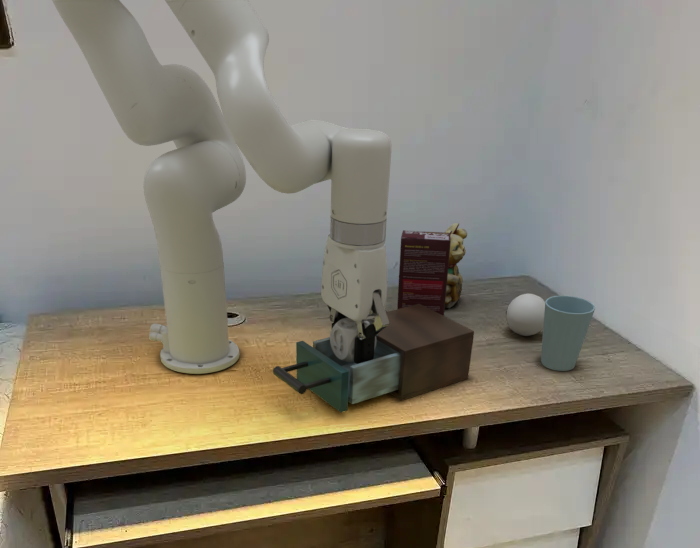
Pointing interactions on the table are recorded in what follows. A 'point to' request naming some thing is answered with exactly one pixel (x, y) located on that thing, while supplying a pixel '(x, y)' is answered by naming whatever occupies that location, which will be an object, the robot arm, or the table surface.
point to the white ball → (526, 314)
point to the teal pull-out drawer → (342, 374)
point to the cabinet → (427, 349)
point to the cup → (564, 330)
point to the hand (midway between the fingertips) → (352, 352)
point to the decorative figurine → (455, 264)
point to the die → (345, 338)
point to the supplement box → (423, 269)
